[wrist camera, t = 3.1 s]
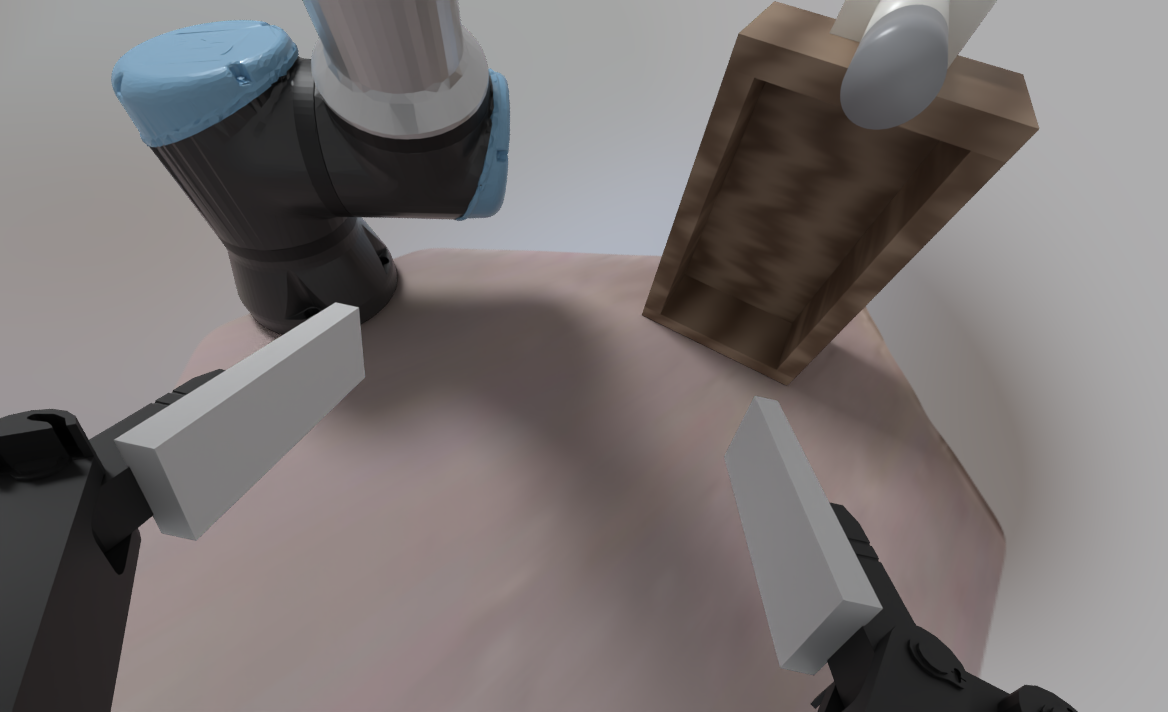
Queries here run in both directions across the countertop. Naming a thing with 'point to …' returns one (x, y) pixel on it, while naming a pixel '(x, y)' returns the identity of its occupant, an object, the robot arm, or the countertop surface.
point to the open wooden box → (818, 193)
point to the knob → (901, 54)
